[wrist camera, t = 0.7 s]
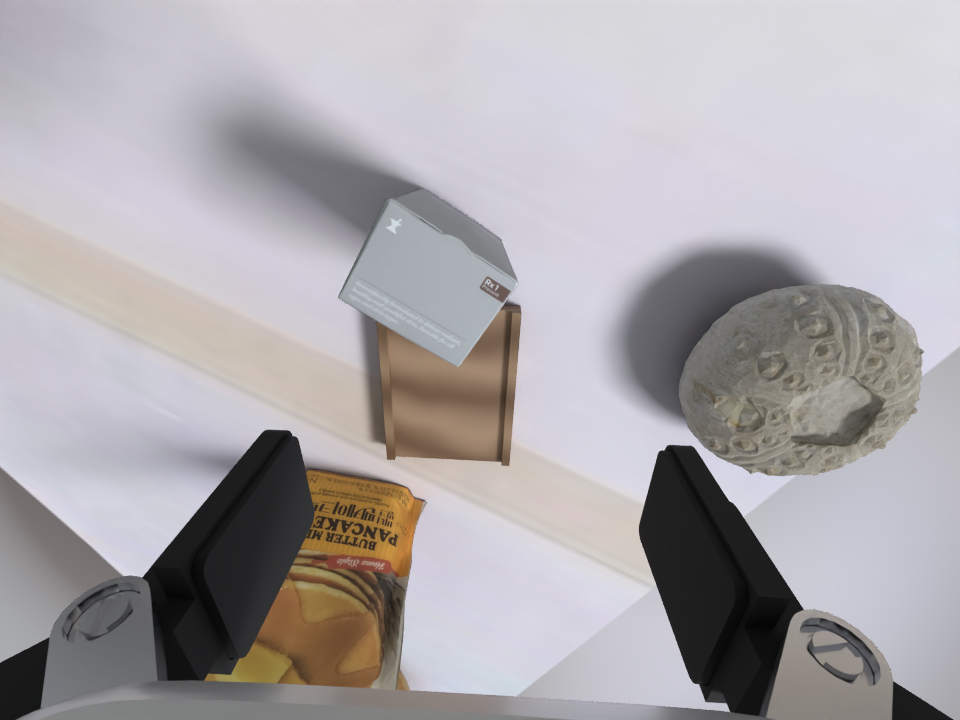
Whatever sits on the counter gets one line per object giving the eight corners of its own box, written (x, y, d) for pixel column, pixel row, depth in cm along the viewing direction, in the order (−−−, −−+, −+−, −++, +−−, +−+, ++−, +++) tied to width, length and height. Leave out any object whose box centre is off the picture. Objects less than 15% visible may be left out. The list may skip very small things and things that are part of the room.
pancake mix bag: (432, 529, 52) (370, 879, 27) (278, 502, 51) (61, 838, 26) (441, 488, 49) (380, 837, 24) (277, 459, 48) (33, 789, 23)
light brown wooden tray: (381, 299, 39) (375, 306, 37) (520, 305, 39) (521, 313, 37) (391, 446, 47) (387, 459, 45) (508, 452, 46) (509, 465, 44)
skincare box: (388, 250, 37) (320, 305, 23) (428, 177, 35) (379, 188, 20) (468, 300, 39) (451, 381, 25) (512, 235, 36) (522, 283, 22)
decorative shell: (687, 457, 46) (733, 530, 37) (643, 316, 39) (686, 363, 30) (867, 401, 42) (968, 467, 33) (852, 235, 35) (974, 260, 26)
